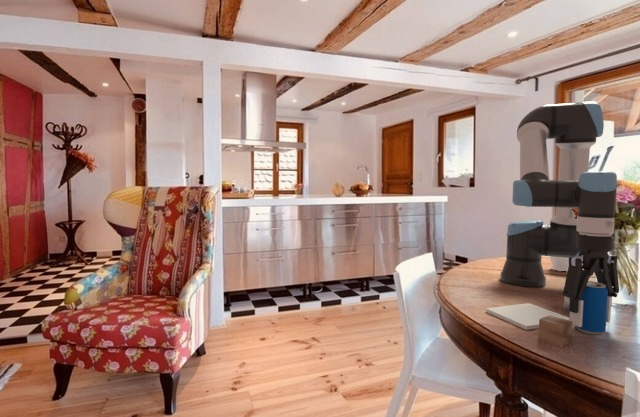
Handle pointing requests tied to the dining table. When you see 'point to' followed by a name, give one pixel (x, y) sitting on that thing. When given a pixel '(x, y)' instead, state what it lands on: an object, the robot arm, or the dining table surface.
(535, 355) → the dining table surface
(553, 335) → the walnut block
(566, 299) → the grey metal tin
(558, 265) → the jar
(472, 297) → the dining table surface
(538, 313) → the white board
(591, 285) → the beverage can
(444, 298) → the dining table surface
